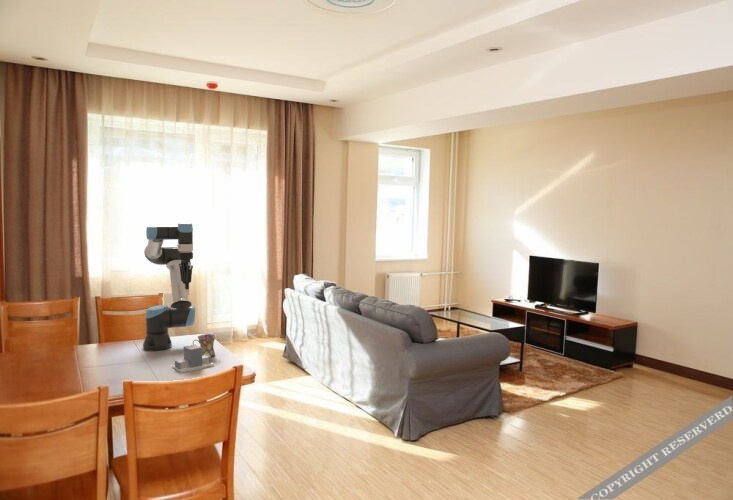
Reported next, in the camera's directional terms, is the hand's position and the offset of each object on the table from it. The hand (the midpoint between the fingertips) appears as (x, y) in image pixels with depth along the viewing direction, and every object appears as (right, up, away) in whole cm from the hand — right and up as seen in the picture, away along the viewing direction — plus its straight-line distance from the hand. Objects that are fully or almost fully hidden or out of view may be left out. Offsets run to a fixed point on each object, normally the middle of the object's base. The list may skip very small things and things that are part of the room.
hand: (186, 294), depth 282 cm
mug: (+10, -33, -1) cm, 35 cm away
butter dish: (+10, -35, -19) cm, 41 cm away
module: (+10, -34, -19) cm, 40 cm away
